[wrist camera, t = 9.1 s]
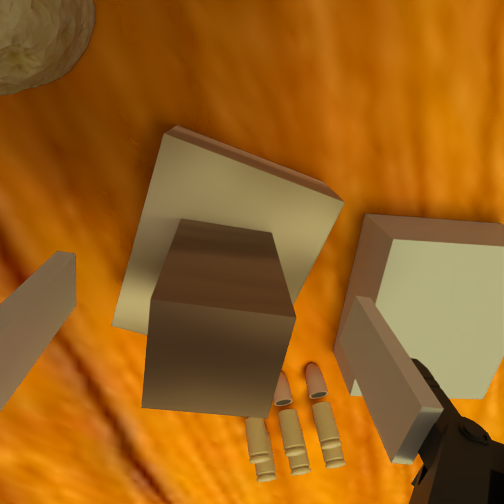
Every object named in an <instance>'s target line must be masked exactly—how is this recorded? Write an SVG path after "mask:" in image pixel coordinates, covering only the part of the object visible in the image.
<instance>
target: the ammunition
mask: <svg viewBox="0 0 504 504" xmlns="http://www.w3.org/2000/svg"><path fill="white" fill-rule="evenodd" d="M306 384H307V388H308V392H309V396H310V398H321V397H324V396H326V395H327V394H328V391H327V388H326V384H325V381H324V378H323V375H322V373H321V371H320V370H319V368H318V367H317V366H316V365H315V364H314V363H310V364H308V366H307V368H306ZM273 399H274V405H276V406H283V405H287V404H290V403H291V402H292V401H293V400H292V396H291V391H290V387H289V383H288V381H287V379H286V377H285V375H284V374H283V373H282V372H281V373H280V376H279V380H278V383H277V387H276V390H275V394H274V397H273ZM312 411H313V416H314V420H315V424H316V429H317V433H318V437H319V442H320V445H321V449H322V453H323V458H324V461H325V463H326V465H325V466H326V468H327V469H330V468H337V467H341V466H344V465H345V464H346V463H345V461H344V460H343V459H344V456H343V452H342V449H341V444H342V443H341V441H339V439H340V436H339V433H338V429H337V426H336V422H335V419H334V415H333V412H332V408H331V405H330V402H319V403H316V404H314V405H312ZM278 416H279V422H280V428H281V433H282V439H283V445H284V449H285V451H286V452H285V455H286V456H288V458H289V464H290V469H291V470H292V471H291V475H302V474H306V473H309V472H310V471H311V469H310V468H309V465H310V464H309V460H308V455H307V451H306V446H305V442H304V437H303V433H302V429H301V427H300V424H299V419H298V415H297V410H296V409H286V410H283V411H280V412H279V413H278ZM245 424H246V433H247V442H248V451H249V457H250V459H249V460H250V463H255V468H256V475H257V476H258V478H257V481H258V482H266V481H271V480H274V479H276V478H277V477H276V475H275V472H276V471H275V465H274V459H273V452H272V446H271V440H270V436H269V433H268V431H267V429H266V427H265V424H264V418H254V417H249V418H247V419H246V420H245Z"/></svg>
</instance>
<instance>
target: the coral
mask: <svg viewBox="0 0 504 504" xmlns="http://www.w3.org/2000/svg"><path fill="white" fill-rule="evenodd" d="M95 13H96V9H95V6H94V3H93V0H0V95H7V94H15V93H17V92H20V91H22V90H25V89H28V88H30V87H33V88H36V87H38V86H40V85H44V84H48V83H50V82H52V81H54V80H57V79H59V78H61V77H63V76H64V75H65V74H66V73H68V72H70V71H71V69H72V68H73V66H74V65H75V64H76V62H77V61H78V60H79V59H80V57H81V56H82V54H83V53H84V51H85V50H86V48H87V46H88V43H89V40H90V36H91V34H92V32H93V28H94V24H95Z"/></svg>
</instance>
